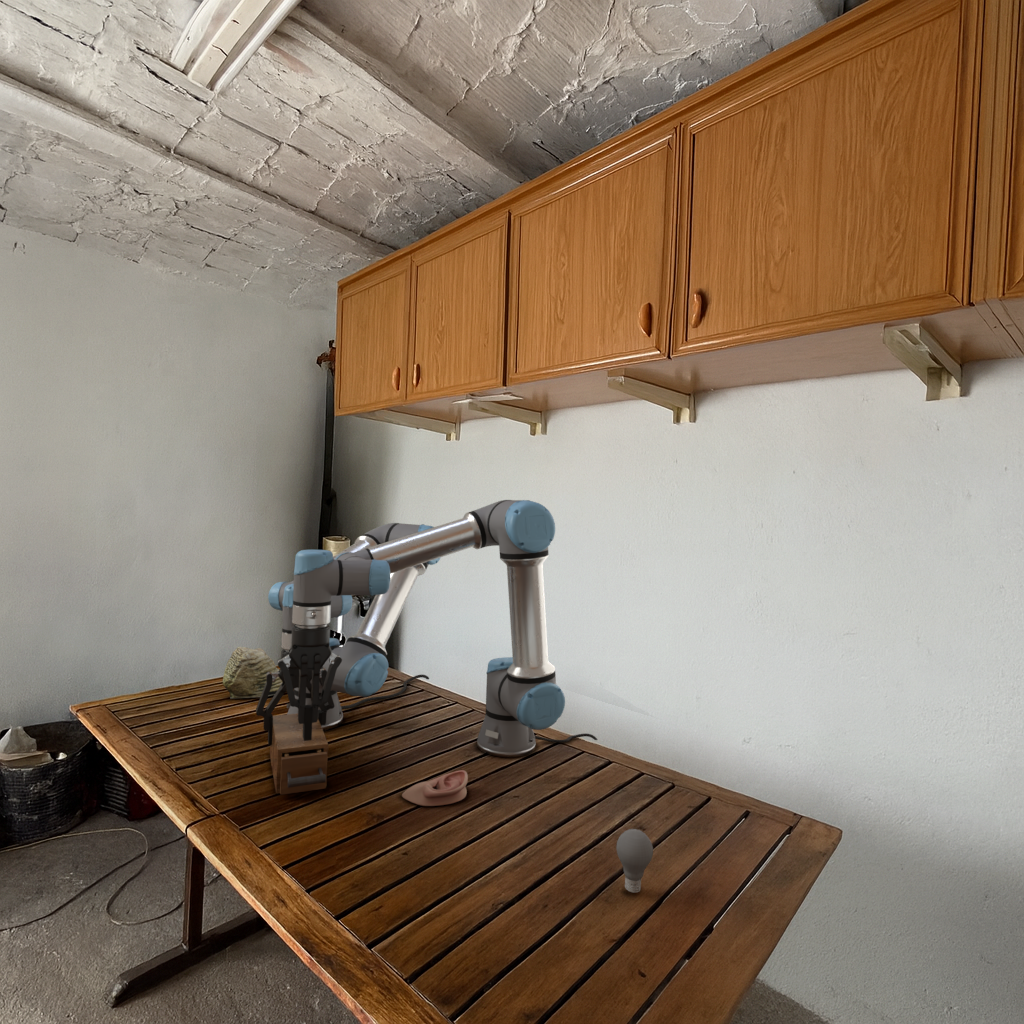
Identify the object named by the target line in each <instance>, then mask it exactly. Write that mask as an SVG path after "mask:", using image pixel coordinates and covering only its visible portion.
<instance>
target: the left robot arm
mask: <svg viewBox="0 0 1024 1024" xmlns="http://www.w3.org/2000/svg"><path fill="white" fill-rule="evenodd" d="M433 527H434V526H433V525H428V524H424V523H422V524H413V523H412V524H411V523H399V522H390V523H386V524H383V525H380V526H377V527H375V528H373V529H370V530H369V531H366V532H365V533H363V534H361V535H360V536H358V537H357V538H356V539H355V540H354V543H353V544H352V545H349V546H348V547H347V548H345V549H343V550H341V551H340V552H338V553H337V554H334V555H333V558H334V559H335V558H336V557H337V556H338V555H340V554H342V553H347V552H352V553H353V552H357V551H360V550H363V549H367V548H369V547H373V546H376V545H379V544H382V543H385V542H389V541H392V540H395V539H398V538H401V537H405V536H408V535H411V534H414V533H417V532H421V531H424V530H427V529H430V528H433ZM441 558H442V557H440V558H437V559H434V560H431V561H428V562H425V563H422V564H419V565H416V566H413V567H410V568H407V569H404V570H401V571H398V572H395V573H392V574H390V575H391V578H390V586H389V590H388V591H387V592H386V593H385V594H379V595H374V598H373V600H372V602H371V603H370V606H369V607H368V610H367V612H366V613H365V616H364V618H363V619H362V621H361V624H360V626H359V628H358V629H357V632H356V634H354V635H350V636H348V637H347V639H346V641H345V644H344V646H340V644H341V643H340V640H339V639H338V638H335V637H330V642H329V645H330V648H331V650H332V653H333V654H335V655H339V656H340V657H341V659H342V662H341V664H340V665H339V666H338V668H337V670H336V673H335V677H334V680H333V684H332V687H331V691H330V694H329V698H328V701H327V703H326V704H322V705H320V706H319V707H318V720H319V722H320V725H321V727H322V730H323V732H325V731H329V730H332V729H335V728H337V727H339V726H340V725H342V723H343V722H344V714H343V710H349V709H353V708H356V707H358V706H360V705H362V704H364V703H368V702H371V701H372V702H373V701H380V700H388V699H392V698H395V697H398V696H400V695H402V694H403V693H404V692H405V691H406V690H407V688H408V685H407V684H408V683H411V682H412V681H414V680H417V679H420V678H424V679H425V680H430V677H429V676H428V675H426V674H417V675H414V676H412V677H410V678H408V679H406V680H405V681H404V682H403V688H402V689H401V690H399V691H397V692H396V693H393V694H389V695H380V696H372V695H375V694H376V693H377V692H378V691H380V690H381V688H382V687H383V685H384V684H385V682H386V680H387V678H388V674H389V670H388V669H389V662H388V659H387V656H388V652H387V650H386V645H387V643H388V641H389V639H390V637H391V634H392V633H393V630H394V628H395V626H396V625H397V624H396V623H397V621H398V619H399V617H400V615H401V613H402V610H403V609H404V606H405V604H406V602H407V600H408V599H409V596H410V593H411V591H412V589H413V587H414V585H415V582H416V580H417V578H418V576H422V575H424V574H425V573H426V572H427V569H428V567H429V566H433V565H436V564H437V563H439V562H440V561H441ZM293 588H294V579H293V580H291V581H289V582H288V581H279V582H278V581H277V582H276V583H274V584H273V585H272V586H271V588H270V589H269V591H268V596H267V599H268V603H269V606H270V607H271V608H272V609H274V610H276V611H281V612H282V619H281V620H282V623H281V626H282V627H281V645H280V647H281V649H282V650H281V652H280V653H281V654H280V659H282V658H284V657H285V656H287V655H288V652H289V650H290V648H291V642H292V627H293V626H294V625H295V624H293V623H292V615H293ZM352 607H353V595H340V596H331V612H330V619H333V618H339V617H342V616H345V615H347V614H348V613H350V611H351V610H352ZM329 659H330V658H328V660H327V661H326V662H325V664H324V665H323V666H322V667H321V668H320V679H319V697H320V696H321V693H322V689H323V685H324V682H325V678H326V675H327V671H328V668H329V665H330V663H329ZM288 669H289V673H290V677H291V681H292V686H293V690H294V695H295V699H298V693H299V669H298V668H297V667H296V665H295V664H294V663H293V661H292V660H290V667H288ZM277 677H279V678H280V679H281V680H282V684H281V685H280V687H279V689H278V691H277V692H276V694H275V695H273V697H272V698H271V700H270V701H269V703H268V704H267V706H266V703H267V700H268V697H269V696H268V695H269V692H270V690H271V687H272V682H275V680H276V678H277ZM311 691H312V670H308V671H307V680H306V704H305V705H311ZM286 693H287V689H286V685H285V680H284V676H283V672H282V671H281V669H280V668H279V672H273V673H271V672H270V671H269V672H267V673H266V683H265V686H264V689H263V692H262V694H261V697H259V700H258V702H257V705H256V708H255V714H256V716H258V717H263V731H264V732H267V744H268V745H267V746H270V745H272V730H273V716H274V715H273V714H272V713H273V712H274V710H275V708H276V707H277V705H278V704H279V703H280V701H281V699H282V698H283V696H284V695H285V694H286ZM338 693H342V694H346V695H349V696H352V697H361V698H362V697H363V698H364V699H361V700H359V701H356V702H354V703H352V704H347V705H341V702H340V699H339V695H338ZM370 696H372V697H370ZM265 706H266V707H265ZM264 708H265V709H264ZM286 709H288V711H287V713H286V715H287V714H298V708H297V707H292V706H291V705H290V702H289V703H286Z"/></svg>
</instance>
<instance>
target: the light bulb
mask: <svg viewBox="0 0 1024 1024" xmlns="http://www.w3.org/2000/svg"><path fill="white" fill-rule="evenodd" d="M615 849H616V854H617V857H618V859H619V861H620V863H621V865H622V867H623V873H624V874H623V875H624V876H625V878H624V888H625V890H627V891H628V892H630V893H634V894H635V893H639V892H640V891H641V889H642V887H641V886H642V879H643V877H644V875H645V871H646V868H647V867H648V866H649V864H650V863H651V861H652V859H653V855H654V847H653V843H652V841H651V838H649V836H648V835H647V834H646V833H645V832H643V831H642V830H641V829H636V828H629V829H627V830H625V831H623V832H622V833H621V834H620V835H619V837H618V839H617V841H616V847H615Z"/></svg>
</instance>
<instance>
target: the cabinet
mask: <svg viewBox="0 0 1024 1024" xmlns="http://www.w3.org/2000/svg"><path fill="white" fill-rule="evenodd" d="M313 749H321V752H327V763H328V762H329V761H328V758H329V743H328V740H327V737H326V734H325V731H323V730H322V727H321V725H320V722H319V720H317V722H314V723H312V740H308V741H304V739H303V724H299V722H298V714H287V713H286V714H279V715H277V714H276V715H273V730H272V745H269V758H270V764H271V765H270V766H271V771H272V776H273V782H274V789H275V794H280V779H281V757H282V753H288V752H297V751H305V750H313ZM327 784H328V770H327V771H326V787H327Z"/></svg>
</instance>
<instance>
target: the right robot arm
mask: <svg viewBox="0 0 1024 1024" xmlns="http://www.w3.org/2000/svg"><path fill="white" fill-rule="evenodd" d="M555 536H556V523H555V519H554V517H553V514H552V513H551V511H550V510H549V509H548V508H547V507H545V506H544V505H543V504H541V503H539V502H536V501H533V500H531V499H530V500H529V499H516V500H515V499H503V500H498V501H496V502H493V503H490V504H487V505H485V506H482V507H480V508H477V509H474V510H471V511H468V512H465V513H464V515H463V517H462V518H459V519H456V520H453V521H450V522H447V523H443V524H439V525H437V526H433V528H430V529H427V530H424V531H421V532H417V533H414V534H411V535H408V536H405V537H401V538H398V539H395V540H392V541H389V542H385V543H382V544H379V545H376V546H373V547H369V548H367V549H363V550H360V551H357V552H353V553H352V552H347V553H342V554H340V555H338V556H337V557H336V558H335V559H334V558H333V556H334V554H333V552H332V550H327V549H301V550H299V551H298V552H296V554H295V559H294V570H293V580H294V588H293V615H292V623H293V624H295V625H294V626H293V627H292V642H291V648H290V650H289V652H288V655H287V656H285V657H284V658H282V659H281V658H278V659H277V661H276V663H277V666H278V669H279V670H280V669H281V671H282V672H283V676H284V680H285V685H286V689H287V691H286V694H287V697H288V702H289V703H290V705H291V706H292V707H297V708H298V722H299V724H303V739H304V741H308V740H312V723H314V722H317V720H318V707H319V706H320V705H322V704H326V703H327V701H328V698H329V694H330V691H331V687H332V684H333V680H334V677H335V673H336V670H337V668H338V666H339V665H340V664H341V662H342V659H341V657H340V656H339V655H335V654H333V653H332V650H331V648H330V645H329V642H330V638H331V626H330V625H329V624H330V623H331V618H330V612H331V596H340V595H351V596H371V597H373V596H376V595H379V594H385V593H386V592H387V591H388V590H389V586H390V578H391V575H390V574H392V573H395V572H398V571H401V570H404V569H407V568H410V567H413V566H416V565H419V564H422V563H425V562H428V561H431V560H434V559H437V558H440V557H441V558H443V557H446V556H449V555H452V554H456V553H459V552H461V551H464V550H467V549H471V548H473V549H475V550H480V549H484V548H487V547H495V546H498V549H499V559H500V561H502V562H503V563H504V564H505V565H506V575H507V590H508V591H507V592H508V607H509V625H510V636H511V637H510V638H511V639H510V640H511V653H512V656H506V657H505V656H504V657H495V658H492V659H490V660H489V661H488V663H487V670H486V692H485V713H484V719H483V722H482V724H481V727H480V729H479V732H478V735H477V739H476V741H477V743H476V746H477V748H478V750H479V751H481V752H482V753H485V754H487V755H490V756H494V757H499V758H518V757H524V756H527V755H531V754H532V753H533V752H534V751H535V750H536V745H537V744H536V740H540V741H543V742H548V743H556V744H557V743H558V744H564V743H568V742H570V741H572V739H578V738H582V737H588V738H591V739H593V740H594V741H598V738H597V736H595V735H593V734H591V733H579V734H573V735H570V736H568V737H567V738H564V739H554V738H547V737H544V736H538V735H535V732H534V730H536V731H542V730H546V729H548V728H550V727H552V726H553V725H555V724H556V723H557V722H558V720H559V719H560V718H561V717H562V715H563V713H564V710H565V706H566V698H565V697H566V696H565V693H564V692H563V689H562V688H561V687H560V686H559V685H558V684H557V676H556V666H555V665H554V664H552V663H551V662H550V661H549V648H548V647H549V646H548V630H547V614H546V598H545V595H546V594H545V581H544V580H545V578H544V563H545V561H546V560H547V559H548V558H549V556H550V554H549V546H550V545H551V543H552V541H554V538H555ZM441 558H440V559H441ZM328 658H330V659H329V663H330V665H329V668H328V671H327V675H326V678H325V682H324V685H323V689H322V693H321V696H320V697H319V679H320V668H321V667H322V666H323V665H324V664H325V662H326V661H327V660H328ZM290 660H292V661H293V663H294V664H295V665H296V667H297V668H298V669H299V693H298V699H295V695H294V689H293V686H292V681H291V677H290V673H289V669H288V667H290ZM308 670H312V691H311V705H305V704H306V680H307V671H308Z"/></svg>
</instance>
